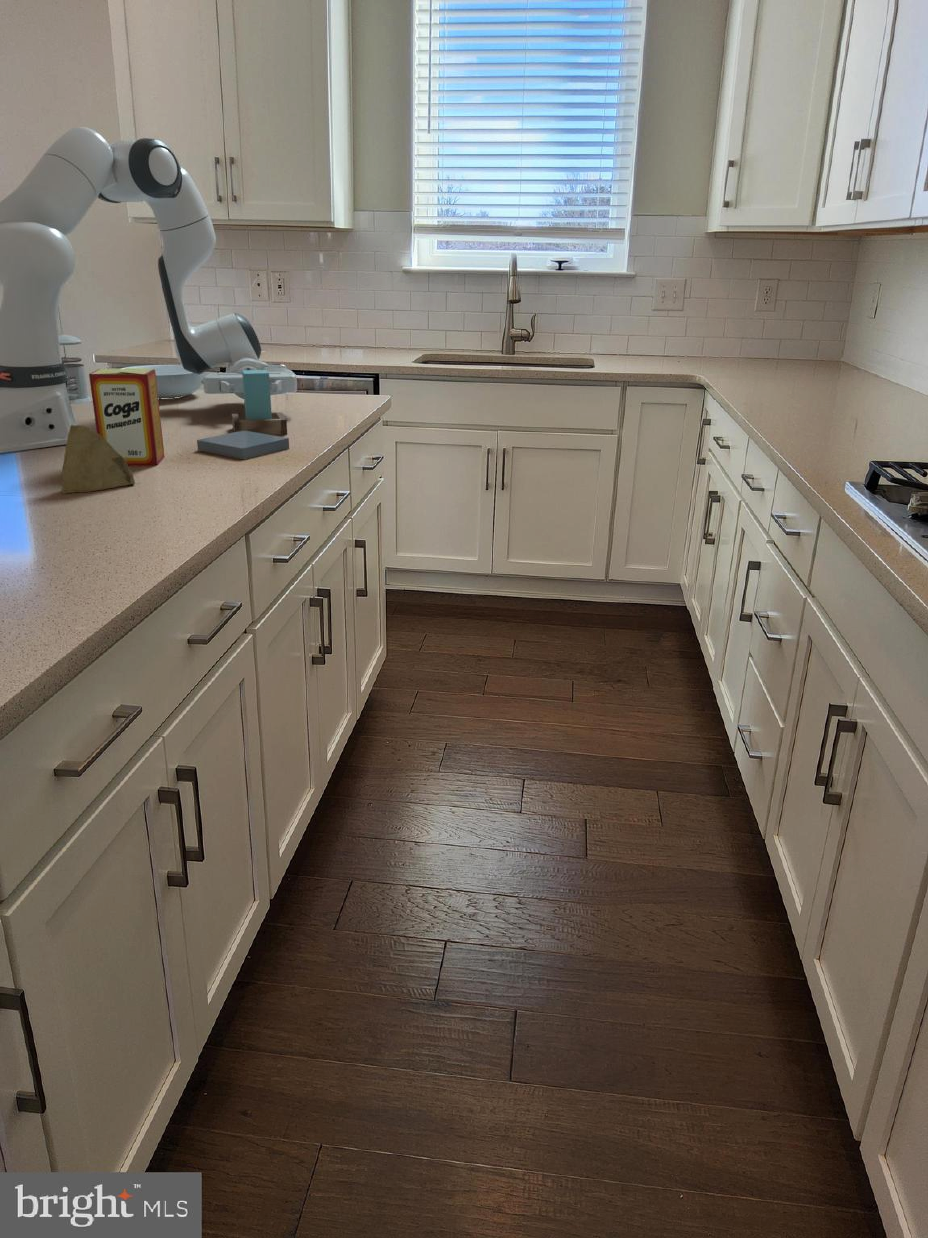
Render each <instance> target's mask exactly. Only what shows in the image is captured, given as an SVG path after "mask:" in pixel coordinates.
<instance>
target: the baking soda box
mask: <svg viewBox="0 0 928 1238" xmlns="http://www.w3.org/2000/svg"><path fill="white" fill-rule="evenodd" d="M125 368H126V367H125ZM88 377H89V383H90V384H89V385H90V392H91V398H92V400H93V401H92V405H93V406H92V407H93V413H94V421H95V428H96V433H98V434H99V435H101V436H102V437H104V439H105V440H106V441H107V442H108V443H109V444H110V445H111V446H112V447H113V449H114V450H115V451H116V452H117V453H118V454H119V455H121V456H122V457H123V458H124V459H125V461H126V463H127V465H128V467H131V466H135V467H137V466H139V467H141V466H144V467H145V466H147V467H148V466H149V467H150V466H151V467H153V466H156V467H157V466H159V464H160V463H161V462H162V461H163V460H164V459H165V449H164V448H165V447H164V440H163V439H164V438H163V431H162V420H161V412H160V411H161V410H160V403H159V402H160V400H158V392H157V383H156V373H155V369H134V368H126V369H121V368H98V369H96V370H94V371H92V372H90V373H89V374H88Z"/></svg>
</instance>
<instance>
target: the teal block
mask: <svg viewBox="0 0 928 1238" xmlns="http://www.w3.org/2000/svg"><path fill="white" fill-rule="evenodd" d="M242 376H243V390H244V399H243V403H244V413H245V415H244V417H245V420H262V419H273V417H272V398H271V395H270V380H269V372H268V371H267V370H242Z"/></svg>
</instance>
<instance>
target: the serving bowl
mask: <svg viewBox="0 0 928 1238" xmlns="http://www.w3.org/2000/svg"><path fill="white" fill-rule="evenodd" d="M126 368H134V369H155V373H156V383H157V392H158V398H159V399H161V398H175V397H181V396H183V397H184V396H188V395H191V394H193V393H195V392H197V391H198V390H199V389H200V388H201V387H202V386H203V384H202V383H201V380H202V379H203V377H204V375H206V372H204V373H202V374H195V373H192V372H189V371H187V370H185V369H184V368H183V367H182V365H181V364H153V365H152V364H149V365H134V366H127V367H122V368H120V369H126Z"/></svg>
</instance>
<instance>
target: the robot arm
mask: <svg viewBox="0 0 928 1238" xmlns="http://www.w3.org/2000/svg"><path fill="white" fill-rule="evenodd" d="M97 199H99V200H101V201H104V202H107V203H112V204H120V203H134V202H135V203H139V202H145V203H146V204H147V205H148V206H149V207H150V209H151V210H152V213H153V215H154V218H155V221H156V225H157V226H158V229H159V232H160V234H161V238H162V241H163V242H162V243H163V245H162V247H163V248H162V254H161V256H159V258H158V260H157V268H158V269H157V270H158V275H159V279H160V284H161V288H162V293H163V297H164V302H165V305H166V310H167V314H168V318H169V321H170V326H171V328H172V332H173V333H172V334H173V342H174V343H173V344H174V351H175V355H176V358H177V361H178V362H179V365H182V367H183V368H184V369H185V370H187V371H189V372H192V373H195V374H202V373H204V372H205V375H204V377H203V379H202V380H201V383H202V385H203V392H204V393H205V394H208V395H209V394H210V395H220V394H224V395H225V394H235V396H236V397H238V398H240V399H243V400H244V390H243V376H242V370H267V371H268V372H269V380H270V396H274V395H285V394H287V393H296V392H297V391H298V380H297V379H298V378H297V375H296V374H295V372H293V370H290V369H289V368H287V366H286V365H285V364H281V363H271V362H264V361H261V360H260V357H261V355H262V347H261V343H260V341H259V338H258V336H257V333H256V331H255V330H254V328H253V326H252V324H251V323H250V321H249V320H248V319H247V318H246V317H245V316H243V315H241V314H240V313H236V312H233V313H230V314H228V315H223V316H221V317H217V318H215V319H214V320H211V321H209V322H205V323H203V324H200V325H197V326H191V325H190V323H189V318H188V313H187V311H186V305H185V301H184V297H183V289H184V286H185V283H186V282H187V280H189V278H190V277H191V276H192V275H193V274H194V273H196V271H197V270H199V269H200V268H201V267H202V266H203V265H204V264H205V263H206V262H207V261H208V260H209V258H210V257H211V256H212V254H213V253H214V250H215V247H216V244H217V235H216V232H215V229H214V224H213V221H212V218H211V216H210V213H209V211H208V208H207V206H206V203H205V202H204V198H203V197H202V195H201V193H200V191H199V189H198V188H197V185H196V184H195V182H194V180H193V178H192V177H191V175H190V173H189V172H188V171H187V170H186V169H185V168H184V167H182V166H180V163H179V161H178V159H177V157H176V154H175V153H174V152H173V150H172V149H171V148H170V147H169V146H168V145H167V144H166V143H165V142H163V141H161V140H159V139H155V138H150V137H147V138H146V137H142V138H139V139H129V140H119V141H116V142H111V143H108V141H107V140H106V139H105V138H104V136H102V135H101V134H100V133H99V132H97V131H96V130H95V129H92V128H90V127H86V126H83V125H82V126H75V127H72V128H70V129H69V130H67V131H66V132H65V133H64V134H62V135H61V136H60V137H59V138H58V139H56V141H54V142H53V143H52V144H51V146H50V147H49V148H48V149H47V150H46V151H45V152H44V153H43V155H42V156H41V157H40V159H39V160H38V161H37V163H36V164H35V166H33V168H32V169H31V171H30V172H29V173H28V175H26V177H25V179H24V180H22V182H21V183H20V184H19V185H18V186H17V187H16V188H15V189H14V190H13V191H12V192H11V193H10V194H8V195H7V196H6V197H4V198H3V199H2V200H0V286H2V300H1V304H0V454H3V453H11V452H12V453H13V452H18V451H25V450H33V449H39V448H41V449H42V448H47V447H54V446H55V447H56V446H63V445H66V443H67V440H68V435H69V432H70V427H71V425H75V426H77V425H78V423H77V421H76V418H75V415H74V412H73V409H72V405H71V404H70V401H69V397H68V393H67V389H68V388H67V378H68V377H67V375H66V370H65V364H66V363H63V362H62V359H61V357H62V353H61V345H60V344H59V336H58V335H59V330H58V329H59V328H58V315H59V312H58V305H60V299H61V296H62V295H61V294H62V291H63V288H64V286H65V284H66V283H67V281H69V279H71V277H72V275H73V273H74V271H75V268H76V267H75V266H76V255H75V250H74V248H73V245H72V243H71V241H70V240H69V239H68V237H67V235H69V234H71V233H72V232H74V230H76V228H77V227H78V225H79V224H80V223H81V222H82V220H83V218H84V217H85V216H86V214H87V213H88V212H89V210H90V208H91V207H92V206H93V204H94V203H95V201H96V200H97ZM60 295H61V296H60ZM224 364H226V367H225V372H211V373H206V372H208V371H210V370H212V369H213V368H216V367H218V366H221V365H224Z"/></svg>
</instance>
